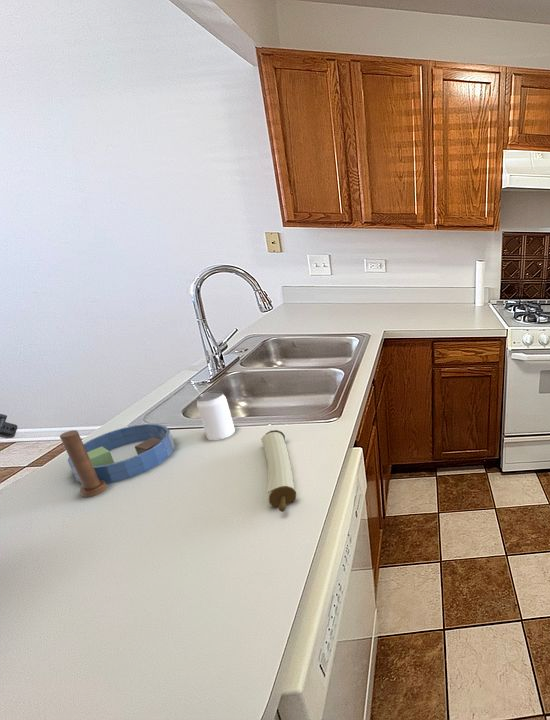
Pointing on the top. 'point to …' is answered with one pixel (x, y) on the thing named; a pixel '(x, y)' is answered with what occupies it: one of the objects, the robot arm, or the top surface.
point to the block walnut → (147, 445)
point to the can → (215, 415)
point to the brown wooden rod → (82, 464)
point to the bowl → (135, 463)
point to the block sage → (100, 457)
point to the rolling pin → (278, 470)
